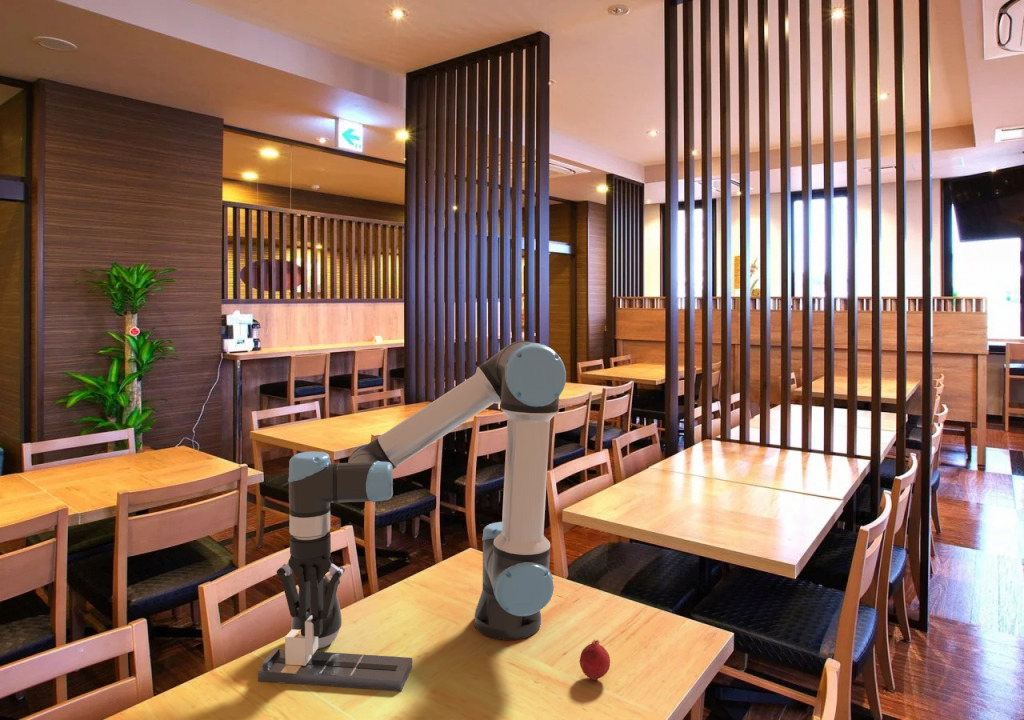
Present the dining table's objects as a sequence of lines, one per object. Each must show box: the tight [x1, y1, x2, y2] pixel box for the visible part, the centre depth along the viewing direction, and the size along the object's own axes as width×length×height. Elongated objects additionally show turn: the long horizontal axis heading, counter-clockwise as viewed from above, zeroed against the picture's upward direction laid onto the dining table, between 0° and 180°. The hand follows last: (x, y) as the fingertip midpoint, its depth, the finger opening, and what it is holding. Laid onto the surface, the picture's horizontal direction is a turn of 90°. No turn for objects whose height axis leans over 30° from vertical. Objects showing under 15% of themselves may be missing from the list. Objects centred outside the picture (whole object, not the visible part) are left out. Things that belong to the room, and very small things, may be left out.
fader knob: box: [284, 628, 312, 666], centre depth 125 cm, size 4×3×6 cm
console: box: [257, 647, 413, 692], centre depth 124 cm, size 28×8×3 cm, turn 84°
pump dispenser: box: [291, 574, 343, 650], centre depth 135 cm, size 10×10×15 cm
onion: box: [579, 638, 611, 681], centre depth 123 cm, size 6×6×8 cm
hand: (311, 650), depth 124 cm, fingers closed
